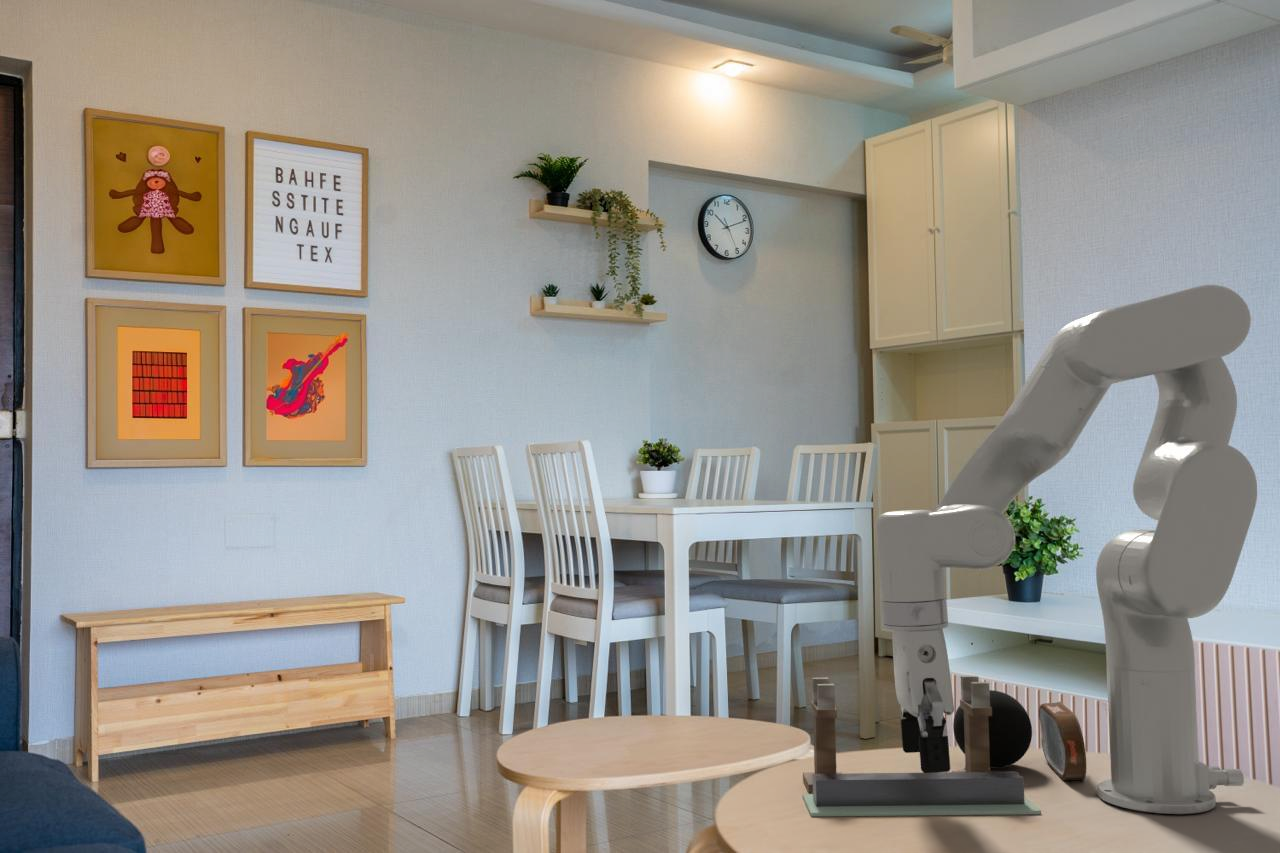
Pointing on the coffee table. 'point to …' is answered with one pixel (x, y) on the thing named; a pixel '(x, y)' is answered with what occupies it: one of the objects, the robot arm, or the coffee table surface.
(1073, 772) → the tin
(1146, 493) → the robot arm
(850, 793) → the rail
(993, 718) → the decorative ball
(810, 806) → the mat
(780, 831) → the coffee table surface
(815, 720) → the rack
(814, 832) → the coffee table surface
